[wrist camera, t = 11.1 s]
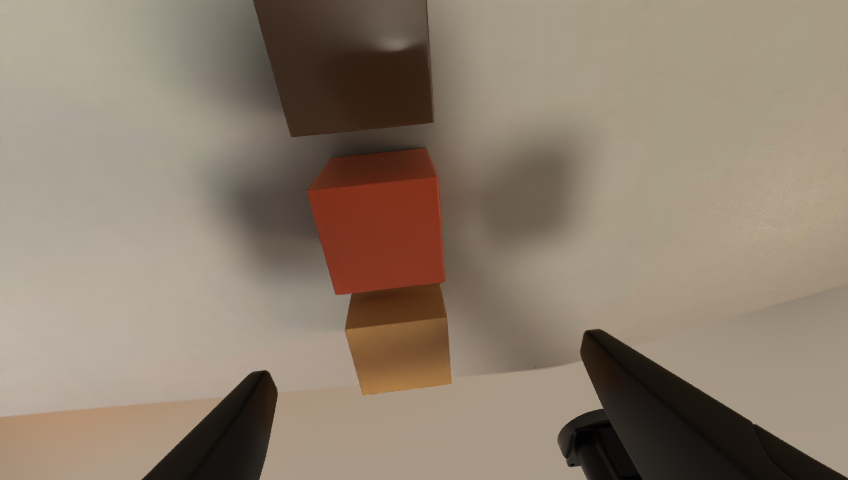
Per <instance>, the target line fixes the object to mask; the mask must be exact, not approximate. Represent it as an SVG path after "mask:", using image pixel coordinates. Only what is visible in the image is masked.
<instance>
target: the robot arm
mask: <svg viewBox="0 0 848 480" xmlns="http://www.w3.org/2000/svg"><path fill="white" fill-rule="evenodd" d="M580 354H581V358H582V361H583V363H584V365H585V367H586V370H587V372H588V374H589V377H590V379H591V381H592V384H593V386H594V388H595V391H596V393H597V395H598V397H599V400H600V402H601V404H602V406H603V408H604V411H605V413H606V414H607V416H608V418H609V420H610V422H611V423H608V424H600V425H593V426H586V427H579V428H576V429H575V430H574V432H573V436H572V440H571V444H570V448H569V452H568V456H567V460H566V462H567V464H568V466H569V467H575V466H581V467H582V470H583V472H584V474H585V476H586V478H587V480H848V478H847V477H845V476H843V475H842V474H840V473H838V472H836V471H834V470H832V469H831V468H829V467H827V466H826V465H824V464H822V463H820V462H818V461H817V460H815V459H813V458H811V457H810V456H808V455H806V454H805V453H803V452H801V451H800V450H798V449H796V448H794V447H793V446H791V445H789V444H788V443H786V442H784V441H783V440H781V439H779V438H778V437H776V436H774V435H773V434H771V433H769V432H768V431H766V430H765V429H763V428H761V427H760V426H758V425H756V424H753V423H752V422H751V421H750V420H748V419H746V418H745V417H743V416H742V415H740V414H738V413H737V412H735V411H733V410H732V409H730V408H729V407H727V406H725V405H724V404H722V403H720V402H719V401H717V400H715V399H714V398H712V397H711V396H709V395H707V394H706V393H704V392H702V391H701V390H699V389H698V388H696V387H694V386H693V385H691V384H689V383H688V382H686V381H684V380H683V379H681V378H680V377H678V376H676V375H675V374H673V373H671V372H670V371H668V370H666V369H665V368H663V367H662V366H660V365H658V364H657V363H655V362H653V361H652V360H650V359H649V358H647V357H645V356H644V355H642V354H640V353H639V352H637V351H636V350H634V349H632V348H631V347H629V346H627V345H626V344H624V343H622V342H621V341H619V340H618V339H616V338H614V337H613V336H611V335H609V334H608V333H606V332H605V331H603V330H600V329H594V330H587V331H585V332H584V335H583V340H582V344H581V349H580ZM277 396H278V392H277V388H276V386H275V384H274V381H273V379H272V377H271V375H270V373H269V372H268V371H267V370H263V371H255V372H252V373H250V374H249V375H248V376H247V377H246V378H245V379H244V380H243V381H242V382H241V383H240V384H239V385H238V386H237V387H236V388H235V389H234V390H233V391H232V392H231V393H229V394H228V395H227V396H226V397H225V398H224V400H222V401H221V402H220V403H219V404H218V405H217V406H216V407H215V408H214V409H213V410H212V411H211V412H210V413H209V414H208V415H207V416H206V417H205V418H204V419H203V420H202V421H201V422H200V423H199V424H198V425H197V426H196V427H195V428H194V429H193V430H192V431H191V432H190V433H189V434H188V435H187V436H186V437H185V438H184V439H183V440H182V441H181V442H180V443H179V444H177V445H176V446H175V447H174V449H172V450H171V451H170V452H169V453H168V454H167V455H166V456H165V457H164V458H163V459H162V460H161V461H160V462H159V463H158V464H157V465H156V466H155V467H154V468H153V469H152V470H151V471H150V472H149V473H148V474H147V475H146V476H145V477H144V478H143V479H142V480H259V479H260V475H261V472H262V468H263V465H264V461H265V457H266V453H267V449H268V443H269V439H270V433H271V428H272V423H273V418H274V413H275V407H276V402H277Z"/></svg>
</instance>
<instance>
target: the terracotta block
mask: <svg viewBox="0 0 848 480" xmlns="http://www.w3.org/2000/svg"><path fill="white" fill-rule="evenodd" d="M307 194H308V198H309V201H310V205H311V208H312V212H313V216H314V219H315V223H316V226H317V230H318V233H319V237H320V241H321V244H322V248H323V251H324V255H325V259H326V262H327V266H328V269H329V273H330V276H331V280H332V284H333V287H334V291H335V294H336V295H342V294H350V293H359V292H367V291H375V290H384V289H392V288H400V287H409V286H417V285H426V284H434V283H442V282H445V272H444V257H443V241H442V226H441V211H440V196H439V181H438V176H437V174H436V171H435V168H434V166H433V163H432V161H431V158H430V156H429V153H428V151H427V149H426V148H420V149H411V150H402V151H392V152H383V153H373V154H364V155H354V156H345V157H336V158H330V159H329V161H328V162H327V164H326V165H325V167H324V168H323V169H322V171H321V172H320V174H319V175H318V176H317V178H316V179H315V181H314V182H313V183H312V185H311V186H310V188H309V189H308V190H307Z"/></svg>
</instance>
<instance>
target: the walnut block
mask: <svg viewBox="0 0 848 480" xmlns="http://www.w3.org/2000/svg"><path fill="white" fill-rule="evenodd" d="M253 2H254V6H255V10H256V13H257V17H258V20H259V24H260V27H261V31H262V35H263V38H264V42H265V45H266V49H267V53H268V56H269V60H270V63H271V67H272V71H273V74H274V78H275V81H276V85H277V88H278V92H279V96H280V99H281V103H282V106H283V110H284V114H285V117H286V121H287V124H288V128H289V132H290V135H291V137H299V136H309V135H319V134H328V133H338V132H348V131H358V130H368V129H377V128H387V127H397V126H407V125H417V124H426V123H433V122H434V106H433V91H432V75H431V60H430V44H429V29H428V13H427V0H253Z"/></svg>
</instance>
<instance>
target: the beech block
mask: <svg viewBox="0 0 848 480" xmlns="http://www.w3.org/2000/svg"><path fill="white" fill-rule="evenodd" d="M345 333H346V336H347V340H348V343H349V347H350V351H351V354H352V358H353V361H354V365H355V368H356V372H357V376H358V379H359V383H360V386H361V390H362V393H363V395H369V394H377V393H385V392H393V391H401V390H409V389H416V388H424V387H432V386H439V385H447V384H451V369H450V353H449V338H448V322H447V314H446V309H445V305H444V300H443V295H442V290H441V286H440V283H434V284H426V285H417V286H409V287H400V288H392V289H384V290H375V291H367V292H359V293H352V294H351V300H350V305H349V310H348V315H347V321H346V326H345Z"/></svg>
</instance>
